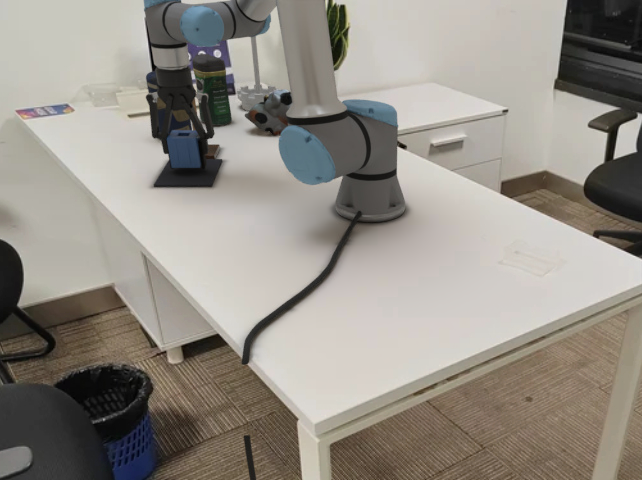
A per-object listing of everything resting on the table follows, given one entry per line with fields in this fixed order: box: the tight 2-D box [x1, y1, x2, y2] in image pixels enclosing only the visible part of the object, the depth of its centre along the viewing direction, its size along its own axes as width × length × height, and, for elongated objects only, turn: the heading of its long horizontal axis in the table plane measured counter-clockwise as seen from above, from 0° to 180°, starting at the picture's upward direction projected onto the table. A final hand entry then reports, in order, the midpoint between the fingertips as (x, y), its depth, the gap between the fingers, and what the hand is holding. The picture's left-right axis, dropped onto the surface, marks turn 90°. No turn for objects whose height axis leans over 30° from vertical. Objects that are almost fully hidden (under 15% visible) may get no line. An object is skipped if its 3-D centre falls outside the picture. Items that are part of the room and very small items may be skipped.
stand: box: [191, 97, 221, 159], centre depth 175 cm, size 9×9×16 cm
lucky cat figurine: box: [244, 88, 292, 136], centre depth 196 cm, size 15×12×14 cm
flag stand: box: [236, 36, 280, 112], centre depth 210 cm, size 13×13×30 cm
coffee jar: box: [192, 53, 233, 126], centre depth 198 cm, size 10×8×19 cm
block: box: [167, 129, 201, 168], centre depth 164 cm, size 6×6×7 cm
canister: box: [145, 70, 193, 135], centre depth 185 cm, size 10×10×18 cm
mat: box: [153, 158, 223, 188], centre depth 167 cm, size 18×13×1 cm
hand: (188, 166), depth 166 cm, fingers closed on block, 6 cm apart
